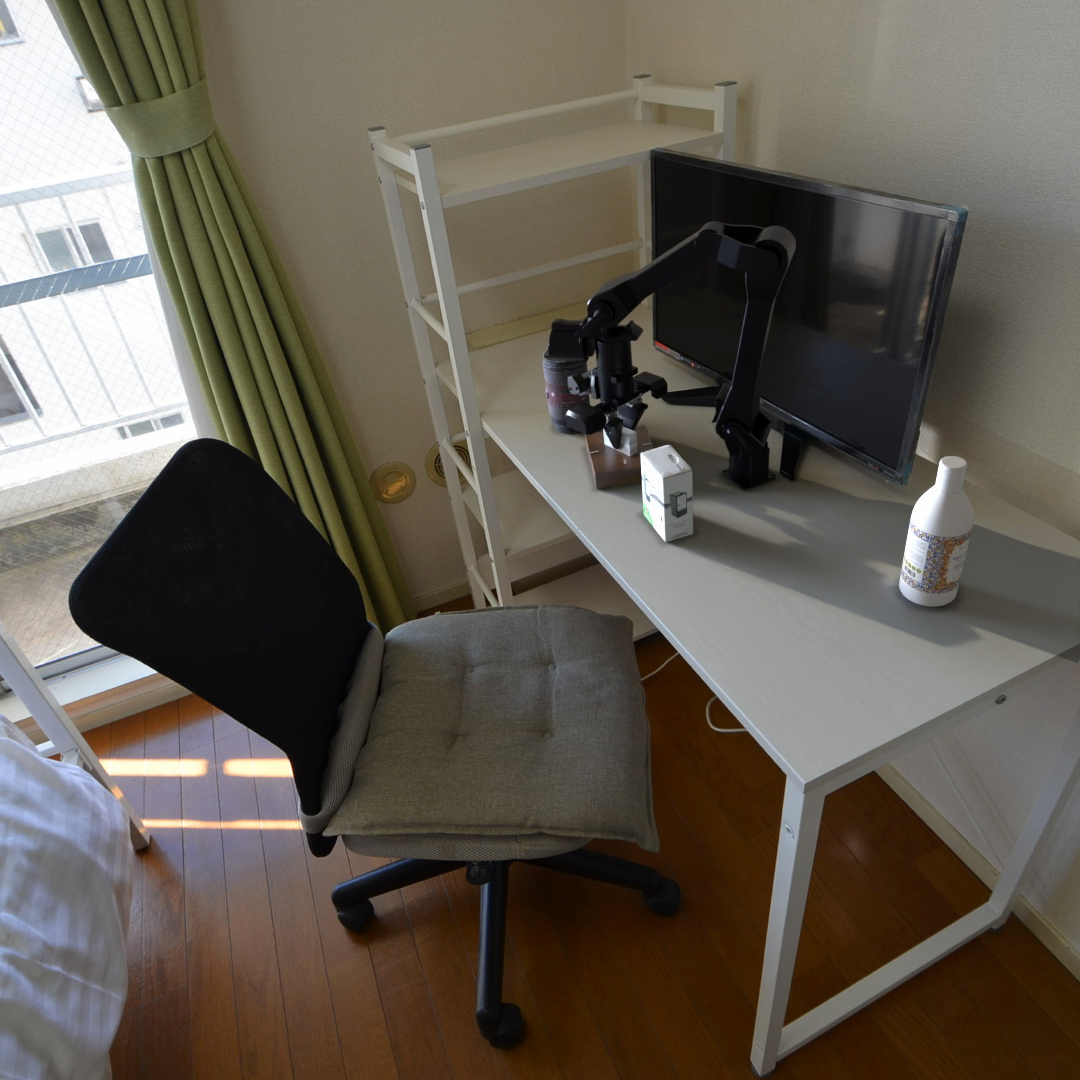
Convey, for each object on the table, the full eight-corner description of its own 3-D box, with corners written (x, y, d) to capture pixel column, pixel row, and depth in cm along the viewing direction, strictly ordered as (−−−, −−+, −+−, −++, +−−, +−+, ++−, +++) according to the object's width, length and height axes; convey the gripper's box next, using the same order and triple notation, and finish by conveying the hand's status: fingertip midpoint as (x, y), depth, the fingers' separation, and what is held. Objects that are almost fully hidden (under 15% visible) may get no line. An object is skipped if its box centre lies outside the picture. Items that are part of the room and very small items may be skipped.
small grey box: (637, 452, 138) (636, 430, 135) (630, 456, 137) (628, 434, 134) (611, 440, 142) (610, 419, 139) (604, 444, 141) (602, 423, 139)
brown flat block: (660, 479, 135) (660, 463, 134) (596, 489, 136) (594, 473, 134) (645, 439, 147) (644, 424, 145) (586, 448, 147) (584, 433, 145)
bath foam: (934, 616, 102) (963, 484, 90) (887, 590, 107) (908, 462, 95) (967, 591, 105) (999, 461, 93) (919, 567, 110) (944, 440, 98)
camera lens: (571, 439, 150) (562, 365, 141) (542, 427, 155) (532, 355, 146) (601, 422, 154) (594, 349, 145) (572, 411, 159) (564, 339, 150)
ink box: (642, 514, 128) (638, 450, 121) (670, 505, 129) (668, 442, 122) (664, 543, 121) (662, 477, 114) (694, 534, 122) (693, 468, 115)
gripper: (621, 332, 139) (627, 412, 149) (538, 370, 131) (550, 453, 140) (668, 347, 132) (671, 430, 141) (584, 389, 124) (593, 474, 133)
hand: (620, 446), depth 139 cm, fingers closed on small grey box, 2 cm apart
